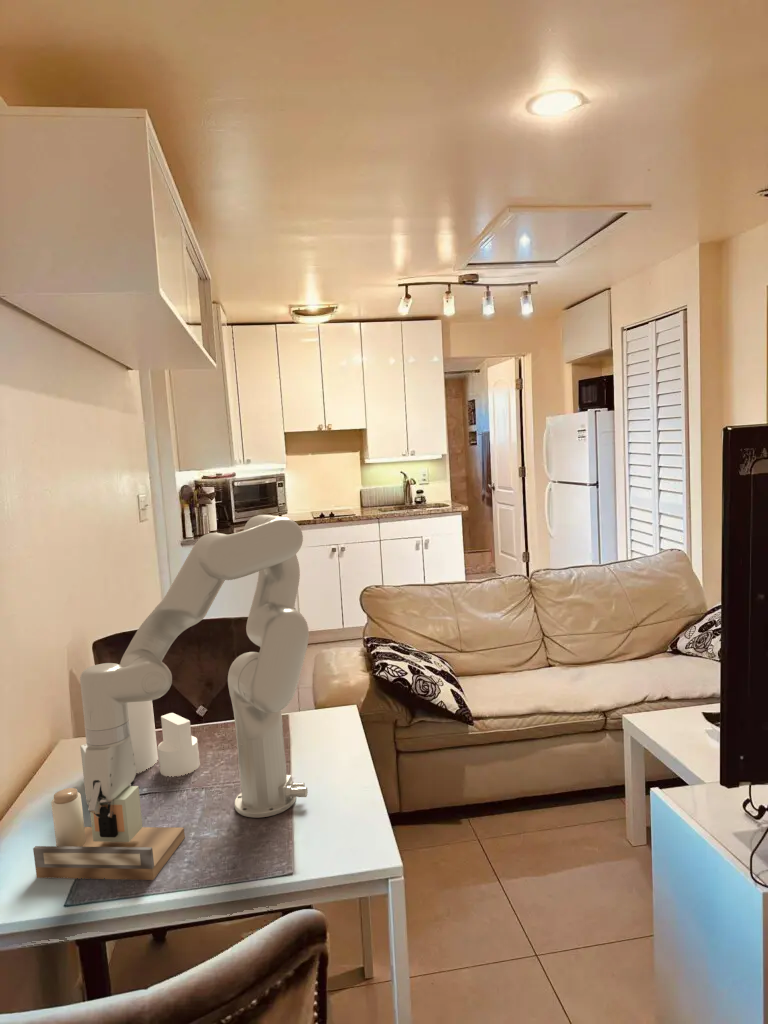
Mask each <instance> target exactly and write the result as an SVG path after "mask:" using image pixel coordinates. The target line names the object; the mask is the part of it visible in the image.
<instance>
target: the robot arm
mask: <svg viewBox="0 0 768 1024" xmlns="http://www.w3.org/2000/svg"><path fill="white" fill-rule="evenodd" d="M303 541H304V536H303V531H302V528H301V526H300V525H299V524H298V523H297V522H296V521H295V520H293V519H292V518H289V517H286V516H278V515H271V514H258V515H255V516H252V517H251V518H250V519H248V520H247V522H246V523H245V525H244V527H243V530H242V531H237V532H235V533H234V532H233V533H231V534H225V533H220V532H210V533H206V534H204V535H202V536H200V537H199V538H198V539H197V541H196V542H195V544H194V545H193V547H192V548H191V550H190V551H189V554H188V555H187V557H186V558H185V560H184V562H183V564H182V566H181V568H180V570H179V572H178V573H177V574H176V577H175V578H174V580H173V582H172V583H171V585H170V587H169V589H168V590H167V592H166V593H165V596H164V597H163V598H162V600H161V601H160V602H159V603H158V604H157V605H156V606H155V607H154V609H153V610H152V611H151V612H150V614H149V615H148V616H147V617H146V619H144V621H143V622H142V623H141V625H140V626H139V627H138V629H137V630H136V632H135V633H134V635H133V637H132V639H131V641H130V642H129V644H128V646H127V648H126V649H125V651H124V653H123V655H122V657H121V660H120V663H119V664H118V663H113V662H105V663H100V664H94V665H91V666H89V667H87V668H86V669H85V668H84V670H82V672H81V673H80V678H79V682H80V683H79V684H80V692H81V693H80V694H81V702H82V712H83V713H82V714H83V722H84V723H83V724H84V731H85V740H86V741H85V742H86V743H85V744H87V746H88V747H87V748H86V752H85V786H84V792H85V793H86V794H85V801H86V800H87V801H88V802H90V804H89V807H88V812H89V813H90V812H92V813H94V814H95V815H96V817H97V818H98V822H99V832H100V836H101V837H116V836H117V835H118V830H117V820H116V815H113V813H114V799H115V798H116V797H117V796H118V795H119V794H120V793H121V792H122V791H123V790H124V789H125V788H126V787H128V786H134V784H135V782H134V780H135V778H136V775H137V774H136V769H135V759H134V752H133V747H132V742H131V737H130V736H131V735H130V724H129V714H128V703H129V702H142V701H151V700H152V701H155V700H158V699H160V698H161V697H163V696H165V695H166V694H167V693H168V691H169V690H170V688H171V686H172V684H173V675H172V671H171V670H170V669H169V667H168V666H167V664H165V662H163V660H164V658H165V656H166V654H167V653H168V651H169V649H170V648H171V646H172V644H173V643H174V642H175V640H176V639H177V638H178V636H180V635H181V634H182V633H183V632H184V631H186V630H187V629H189V628H190V627H193V626H195V625H197V624H198V623H200V622H201V621H202V620H204V618H205V617H206V616H207V614H208V612H209V611H210V608H211V606H212V605H213V603H214V600H216V598H217V595H218V593H219V592H220V589H221V588H222V586H223V585H224V583H225V581H232V580H238V579H240V578H245V577H246V576H249V575H252V574H255V573H258V576H257V582H256V587H255V592H254V594H253V600H252V602H251V607H250V610H249V614H248V616H247V621H246V625H245V627H246V628H245V630H246V636H247V637H248V639H249V640H250V641H251V642H252V643H253V644H254V645H255V646H258V647H259V648H260V649H259V652H257V651H249V652H244V653H242V654H240V655H238V656H237V657H236V658H235V659H234V661H232V663H231V665H229V666H230V667H229V669H228V673H227V674H228V675H227V686H228V691H229V697H230V700H231V704H232V711H233V717H234V726H235V736H236V739H235V740H236V751H237V759H238V760H237V761H238V770H239V781H240V783H239V784H240V793H239V794H237V796H236V798H235V800H234V809H235V811H236V813H238V814H239V815H241V816H244V817H248V818H253V819H255V818H265V817H266V818H267V817H272V816H275V815H278V814H281V813H283V812H285V811H286V810H288V809H289V808H291V807H292V806H293V805H294V803H295V802H296V800H297V798H307V797H308V791H309V790H308V787H307V786H305V782H295V781H292V775H291V774H288V773H287V765H286V764H287V763H286V753H285V752H286V751H285V741H284V740H285V739H284V731H283V730H284V729H283V728H284V725H283V716H282V710H283V709H285V708H286V707H287V706H288V705H289V704H290V703H291V701H292V699H293V698H294V697H295V696H294V695H295V693H296V692H297V688H298V685H299V681H300V677H301V673H302V670H303V669H302V668H303V665H304V662H305V659H306V658H305V657H306V653H307V650H308V645H309V639H310V635H309V634H310V631H309V626H308V622H307V620H306V619H305V617H304V615H303V614H302V613H301V612H299V611H298V610H297V609H295V606H296V601H297V597H298V596H297V595H298V591H299V586H300V578H301V573H300V572H301V570H300V563H299V558H298V555H297V554H298V552H299V551H300V550H301V548H302V545H303ZM102 795H104V796H106V798H102ZM103 803H108V809H107V808H106V807H103Z"/></svg>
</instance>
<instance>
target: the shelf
mask: <svg viewBox="0 0 768 1024" xmlns="http://www.w3.org/2000/svg"><path fill="white" fill-rule="evenodd" d="M84 828H85V837H86V842H85V844H84V845H83V846H82V847H70V846H52V845H50V846H49V845H43V846H42V845H36V846H34V847H33V848H32V850H33V858H34V867H35V876H36V879H77V878H78V879H79V880H80V879H81V878H82V880H87V879H88V880H129V881H131V880H135V881H136V880H137V881H139V880H141V881H144V880H145V881H147V880H148V881H153V880H155V879H156V877H157V876H158V875H159V873H160V872H161V870H163V868H164V867H165V865H166V864H167V863H168V861H169V860H170V859H171V857H172V856H173V855H174V853H175V852H176V850H177V849H178V847H180V846H181V844H182V842H183V841H184V839H185V838H186V833H185V827H169V826H168V827H163V826H162V827H156V826H154V827H151V826H147V827H146V826H142V828H141V829H140V830H139V832H138V833H137V834H136V835H135V836H134V837H133V838H132V839H131V841H130V842H99V841H93V834H92V826H84ZM84 878H85V879H84ZM90 878H91V879H90ZM104 878H105V879H104Z"/></svg>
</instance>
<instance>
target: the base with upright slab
mask: <svg viewBox="0 0 768 1024" xmlns="http://www.w3.org/2000/svg"><path fill="white" fill-rule="evenodd" d="M160 720H161V721H160V722H161V729H162V730H161V731H162V741H161V742H160V743H159V744H158V746H157V753H158V762H159V763H158V764H159V771H160V772H159V773H160V775H161V776H164V777H167V776H169V777H168V778H175V777H174V776H177V777H182V776H186V775H189V774H191V773H193V772H195V771H196V770H198V769H199V768H200V765H201V763H200V753H199V743H198V738H197V737H196V736H193V735H192V728H191V720H189V719H188V718H185V717H182V716H181V715H179V714H176V713H174V712H169V713H166V714H164V715H163V714H162V715H161V716H160ZM194 770H195V771H194ZM188 773H189V774H188ZM185 774H186V775H185ZM181 775H182V776H181ZM171 776H172V777H171Z"/></svg>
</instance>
